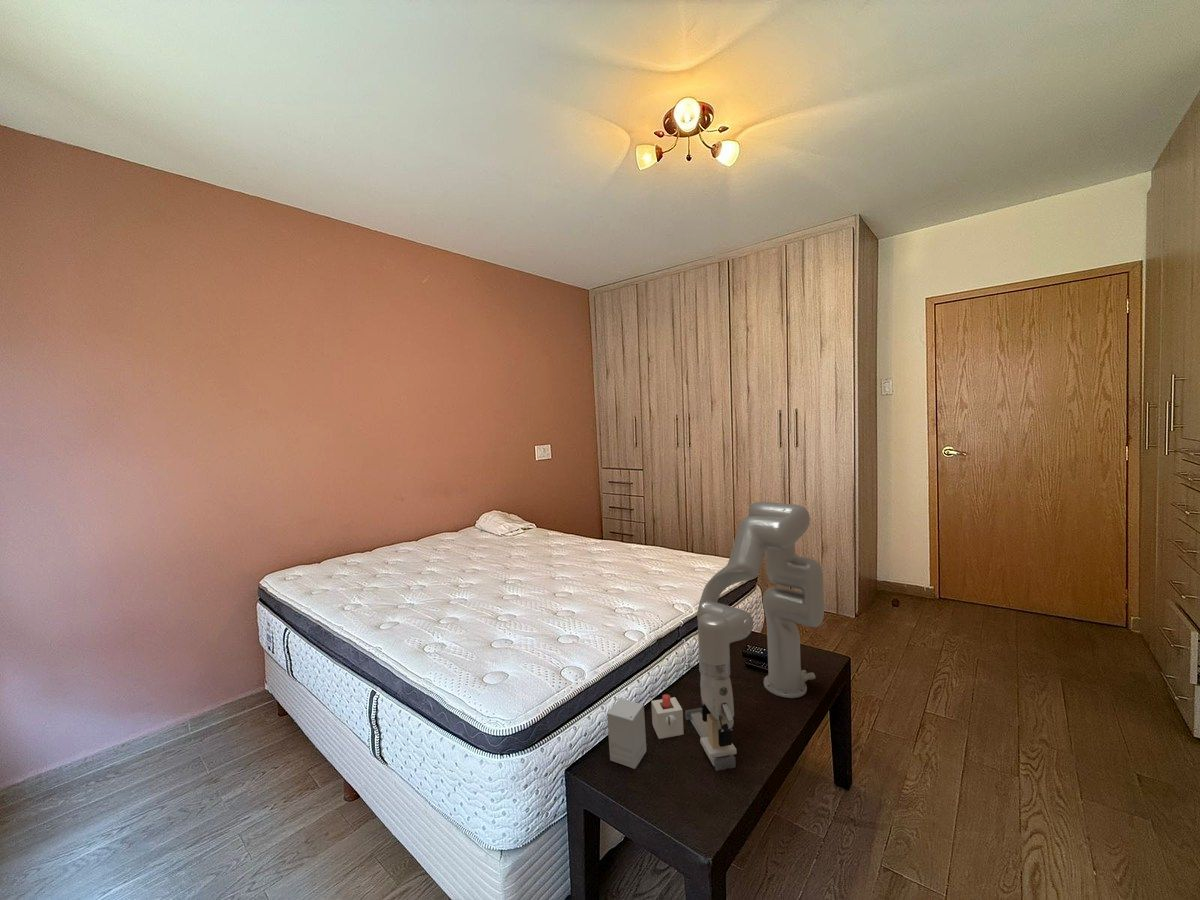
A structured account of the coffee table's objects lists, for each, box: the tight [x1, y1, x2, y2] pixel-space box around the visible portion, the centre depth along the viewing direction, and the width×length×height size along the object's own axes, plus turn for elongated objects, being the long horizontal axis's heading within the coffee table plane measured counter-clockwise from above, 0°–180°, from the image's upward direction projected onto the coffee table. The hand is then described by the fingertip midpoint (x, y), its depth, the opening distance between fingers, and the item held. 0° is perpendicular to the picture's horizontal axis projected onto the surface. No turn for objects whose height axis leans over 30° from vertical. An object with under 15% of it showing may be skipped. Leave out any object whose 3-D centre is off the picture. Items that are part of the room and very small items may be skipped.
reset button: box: [661, 693, 671, 710], centre depth 127 cm, size 2×2×5 cm
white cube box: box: [650, 696, 685, 740], centre depth 126 cm, size 7×7×7 cm
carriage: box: [699, 713, 737, 767], centre depth 115 cm, size 7×6×10 cm
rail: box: [685, 707, 737, 772], centre depth 122 cm, size 5×21×2 cm, turn 10°
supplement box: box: [606, 697, 647, 770], centre depth 117 cm, size 7×7×13 cm
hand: (716, 732), depth 115 cm, fingers open, 9 cm apart
